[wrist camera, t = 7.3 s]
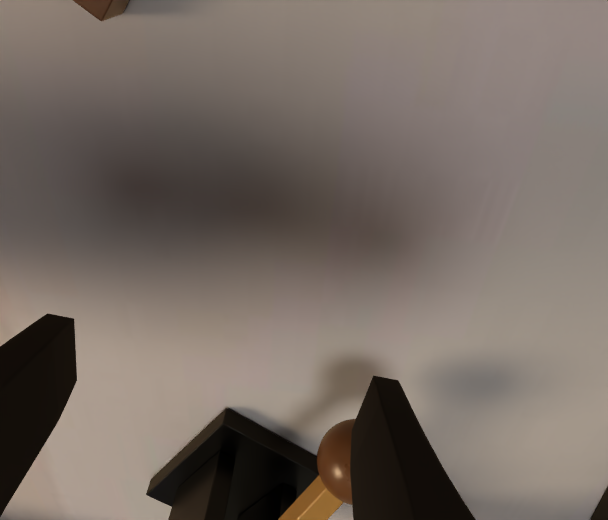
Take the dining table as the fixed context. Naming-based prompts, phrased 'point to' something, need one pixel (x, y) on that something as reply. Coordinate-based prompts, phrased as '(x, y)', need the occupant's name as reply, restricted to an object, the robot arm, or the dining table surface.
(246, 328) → the dining table surface
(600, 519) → the figurine
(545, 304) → the dining table surface
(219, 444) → the bracket
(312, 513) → the lever
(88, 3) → the button base
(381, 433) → the robot arm
